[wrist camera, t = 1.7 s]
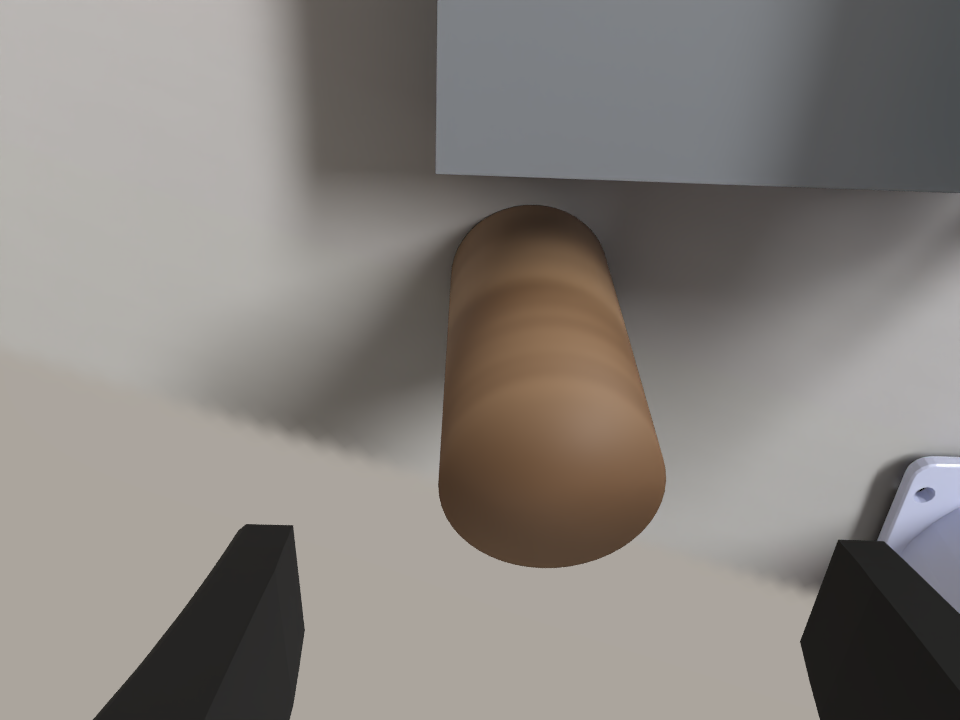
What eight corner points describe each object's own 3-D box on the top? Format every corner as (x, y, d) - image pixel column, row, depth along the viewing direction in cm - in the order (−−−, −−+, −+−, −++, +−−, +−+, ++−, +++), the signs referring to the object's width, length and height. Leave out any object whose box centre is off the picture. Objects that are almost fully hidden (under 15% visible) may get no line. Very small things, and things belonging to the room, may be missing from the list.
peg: (597, 347, 20) (648, 570, 14) (449, 342, 20) (436, 565, 14) (616, 208, 18) (683, 399, 12) (452, 202, 18) (440, 391, 12)
